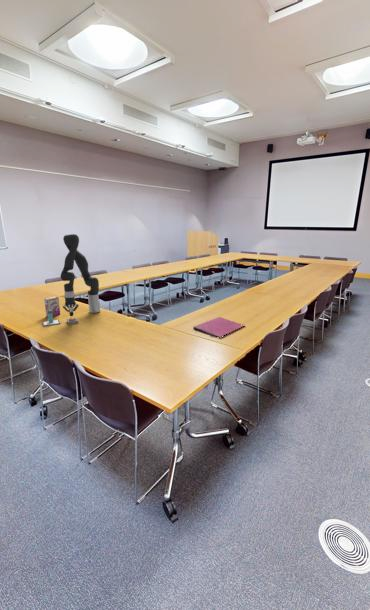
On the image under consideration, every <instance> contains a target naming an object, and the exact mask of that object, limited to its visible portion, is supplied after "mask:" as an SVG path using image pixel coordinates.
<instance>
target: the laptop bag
mask: <svg viewBox="0 0 370 610" xmlns="http://www.w3.org/2000/svg"><path fill="white" fill-rule="evenodd" d="M241 324H242V323H239V322H236V321H233V320H230V319H226V318H223V317H222V316H221V317H220V316H218V317H215V318H213V319H210V320H207V321H205V322H202V323H199V324H197V325H195V326H193V330H194V331H197V332H200V333H203V332H204V334H206V333H207V334H206V335H209V334H210V335H211V337H213V336H216V337H215V338H217V337H219V338H218V339H220V337H222V336H224V335H226V334H228V333H230V332H232V331H234V332H235V330H236V331H237V329H238V330H239V328H240V329H241V327H242V328H244V327H243V325H244V324H242V326H241ZM232 333H233V332H232ZM230 334H231V333H230ZM210 335H209V336H210ZM228 335H229V334H228ZM226 336H227V335H226ZM224 337H225V336H224ZM222 338H223V337H222Z"/></svg>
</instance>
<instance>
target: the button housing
mask: <svg viewBox="0 0 370 610" xmlns="http://www.w3.org/2000/svg"><path fill="white" fill-rule="evenodd" d="M74 318H75V320H74V321H70V318H66V323H67V324H68V326H69V325H76V324H79V319H78V318H77V317H74Z"/></svg>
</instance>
